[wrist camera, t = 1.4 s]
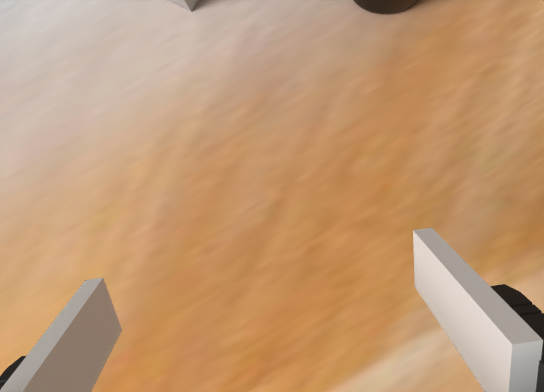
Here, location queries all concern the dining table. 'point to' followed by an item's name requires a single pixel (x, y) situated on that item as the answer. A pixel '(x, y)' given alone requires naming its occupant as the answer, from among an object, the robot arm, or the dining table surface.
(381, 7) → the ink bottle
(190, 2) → the tea bag
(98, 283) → the robot arm
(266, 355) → the dining table surface
